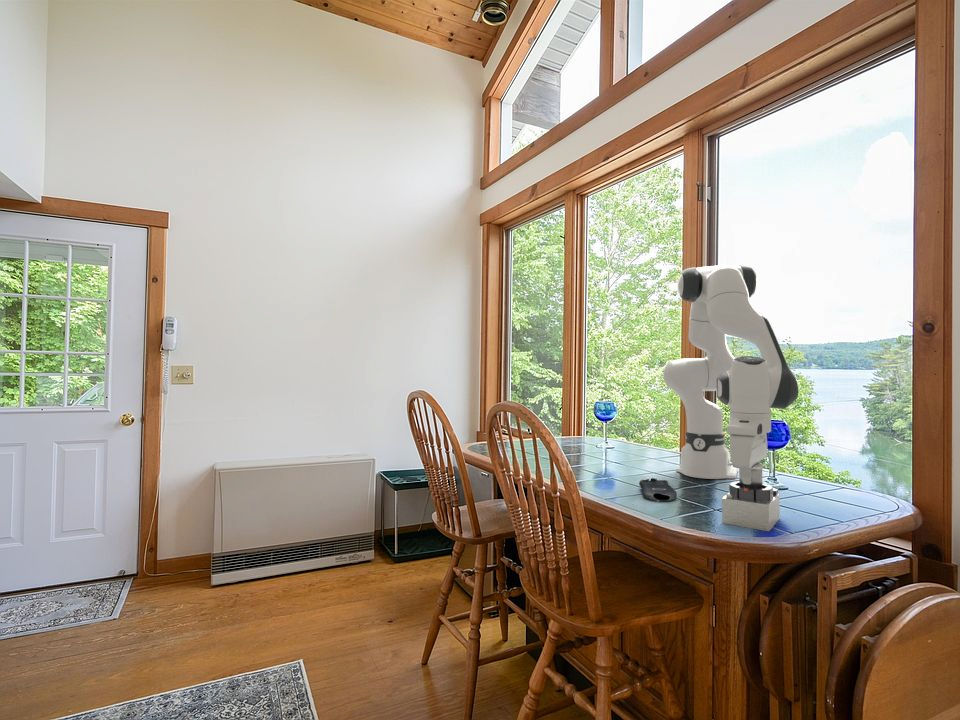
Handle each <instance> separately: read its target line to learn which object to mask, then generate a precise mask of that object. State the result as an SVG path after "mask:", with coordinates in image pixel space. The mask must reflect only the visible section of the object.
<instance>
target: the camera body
mask: <svg viewBox="0 0 960 720" xmlns="http://www.w3.org/2000/svg"><path fill="white" fill-rule="evenodd" d="M728 485H729V492H727V493H726V494H725V495H724V496H722V498H721V520H722V521H721V523H722V524H723V525H724V524H725V525H729V526H730V525H731V526H737V527H742V528H747V529H752V530H753V529H754V530H759V531H760V530H761V531H763V532H770V531H771V530H772V529H773V528H774V526H775V525H776V524H777V522H779V520H780V518H781V517H780V513H781V512H780V502H781V501H780V493H779V488H774V487H773V486H772V485H770V484H766V483H763V489H749V488H741V487H739V480H738V481H731V483H729V484H728Z"/></svg>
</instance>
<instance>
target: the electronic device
mask: <svg viewBox="0 0 960 720" xmlns="http://www.w3.org/2000/svg"><path fill="white" fill-rule="evenodd" d="M638 485H639V486H640V488H641V491H642V492H641V493H642V496H643V497H644V498H646V499H647V500H648V501H653V502H654V501H655V502H658V503H659V502H662V500H664V502H671V501H674V500H676V498H677V495H678V494H677V493H678V492H677V491H676V490H675V489H674V488H673V487H672V486H671V484H670V482H669V481H668V480H666V479H663V480H661V479H657V478H653V477H651V478H647V479H640V480H639V483H638ZM655 494H660V495H659V496H657V497H656V495H655ZM666 496H668V497H669V499H667V497H666Z"/></svg>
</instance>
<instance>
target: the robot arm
mask: <svg viewBox="0 0 960 720" xmlns="http://www.w3.org/2000/svg"><path fill="white" fill-rule="evenodd" d="M757 285H758V278H757V273H756V271H755V270H754V268H753V267H752V266H748V265H742V264H740V265H731V264H729V265H727V264H719V265H718V264H717V265H710V266H709V265H708V266H700V267H699V266H698V267H695V266H693V267H689V268H685V269H684V270H682V272H681V273H680V275H679V278H678V281H677V291H678V293H679V297H680V298H681V299H682V300H683V301H685V302H689V303H691V305H690V308H689V309H690V310H689V322H688V323H689V325H688V341H689V342H690V344H691V345H692V346H694V347H695V348H697V349H699V350H701V351H704V352H705V353H706V354H705V355H706V356H705V357H701V358H699V357H697V358H680V359H674V360H671V361H668V363H666V365H665V367H664V369H663V375H662V376H663V380H664V382H665V385H666V386H667V387H668V388H669V389H670V390H671V391H673V392H674V393H675V394H677V395H678V397H679V398H680V400H681V401H682V404H683V407H684V409H685V416H686V419H685V420H686V432H685V436H684V439H685V445H684V446H683V447H681V452H680V453H681V454H680V467H677V468H676V472H678V473H681V474H682V475H685V476H687V477H690V478H697V479H706V480H707V479H709V480H719V479H720V480H721V479H736V477H737V474H738V472H739V468H741V473H742V476H743V483H744V484H748V485H749V484H751V483H752V476H751V470H752V466H753V465H755V464H756V463H758V462H760V463H761V461H762V460H763V459H765V458H766V457H767V455H768V435H767V434H769V433H771V432H772V413H771V411H772V410H771V409H778V410H784V409H787V408H789V407H790V406H791V405H792V404H793V403H794V402H795V401H796V400H797V399H798V397H799V385H798V381H797V379H796V376H795V375H794V372H793V371H792V370H791V368H790V366H789V365H788V363H787V360H786V358H785V355H784V352H783V350H782V348H781V346H780V343H779V341H778V339H777V335H776V333H775V331H774V330H773V329H774V328H773V326H772V324H771V323H770V322H769V320H768V319H767V317H765V316H763V315H761V314H760V312H759V313H758V312H757V310H756V309H755V307H753V304H752V303H751V300H750V298H752V297H753V295H754V294H755V292H756V289H757ZM727 335H728V336H731V337H735V338H738V339H741V340H745V341H748V342H750V343H751V344H753V345H754V346H755V347H756V348H758V349H757V350H759V353H760V356H761V357H759V356H752V355H749V356H748V355H745V356H744V355H743V356H737V357H735V356H734V355H733V354H732V353H731V351H730V349H729V346H728V343H727ZM704 392H716V398H717V399H718V400H719V401H720V402H721V403H722V404H724V405H725V406H729V407H730V410H729V422H728V424H727V425H726V433H725V432H724V430H723V423H724V421H723V410H722V408H721V407H720V405H717V404H716V403H713V402H711V401H709V400H708V399H706V398H705V395H704ZM726 434H728V435H729V450H730V451H729V450H728V448H727V447H726V445H725V444H726Z"/></svg>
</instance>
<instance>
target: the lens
mask: <svg viewBox="0 0 960 720" xmlns="http://www.w3.org/2000/svg"><path fill="white" fill-rule="evenodd" d="M763 467H764V466H763V463H762V462H761V461H760V462H758V463H756V464H755V465H753V466H752V470H751V476H752V483H751V484H749V485H748V484H744V483H743V476H742V473H741V468H738V477H739V478H738V481H739V487H741V488H749V489H763V482H764V481H763Z"/></svg>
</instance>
